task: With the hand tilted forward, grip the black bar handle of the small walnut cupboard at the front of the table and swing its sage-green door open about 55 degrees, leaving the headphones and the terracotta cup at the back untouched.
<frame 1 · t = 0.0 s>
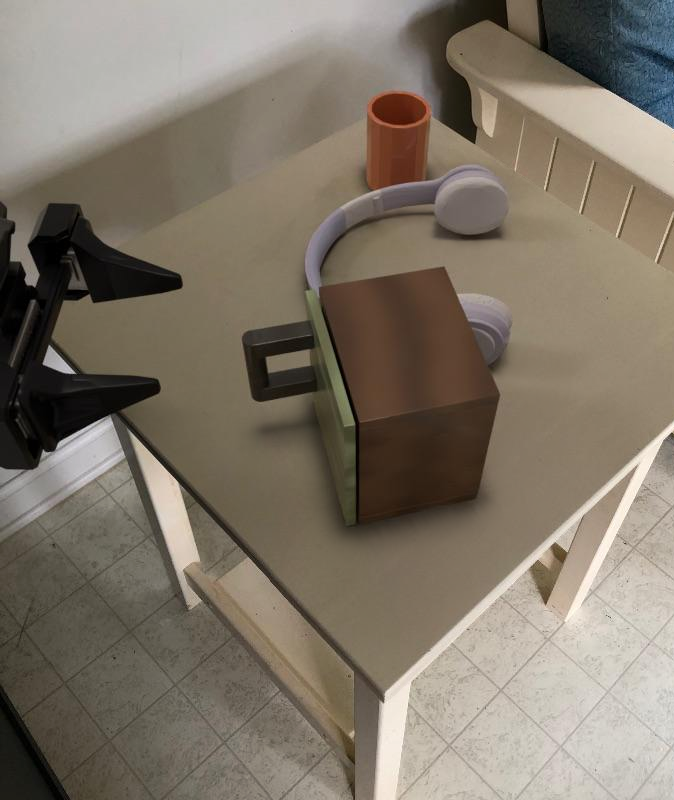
hand: (171, 330, 54), 18 cm above the table, tool horizontal, fingers open, 9 cm apart
door: (297, 417, 64), point 7 cm above the table, hinge at 0.0°
cup: (395, 179, 92), on the table
headphones: (406, 282, 83), on the table
cupboard: (397, 446, 71), on the table
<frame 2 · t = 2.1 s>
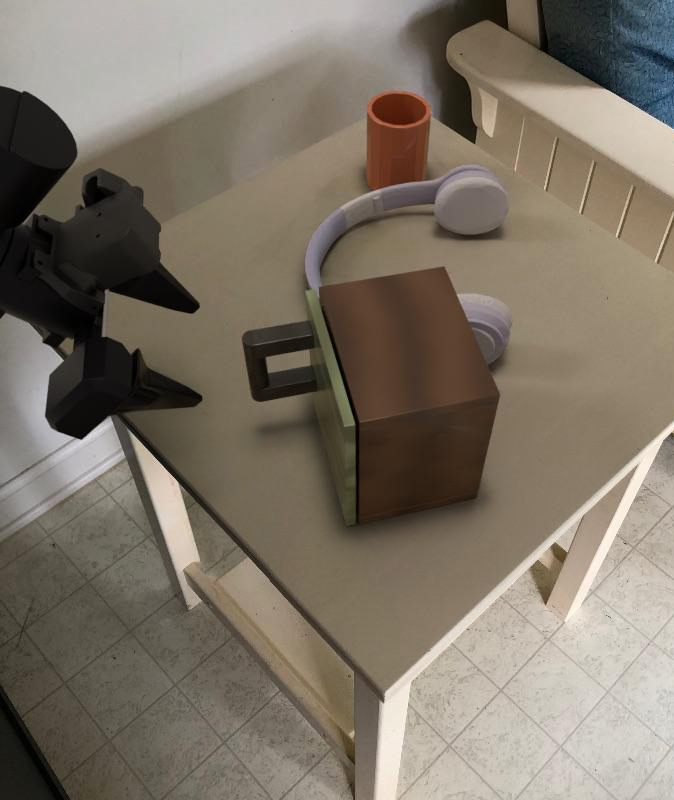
hand: (197, 353, 62), 11 cm above the table, tool tilted 45°, fingers open, 9 cm apart
nothing on the table moved.
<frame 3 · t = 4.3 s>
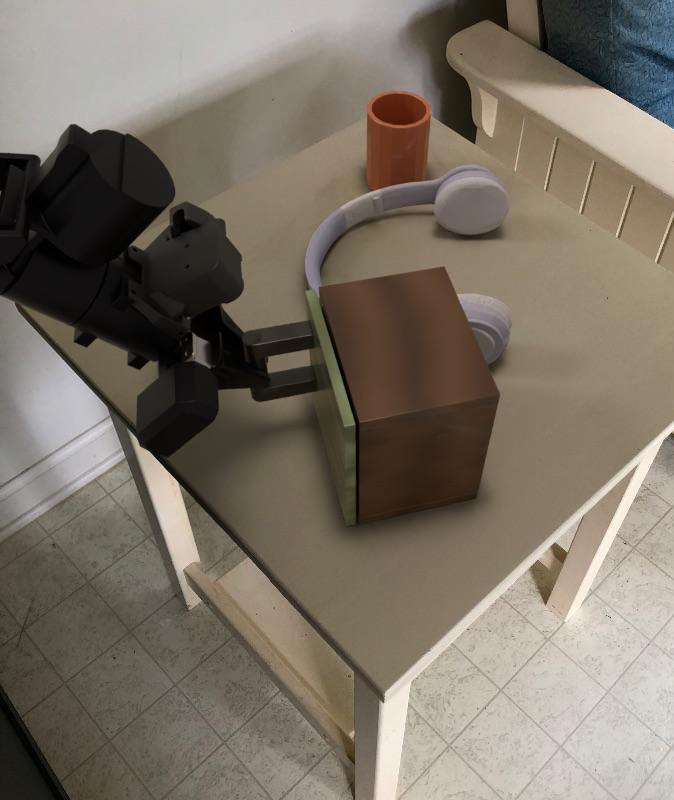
hand: (265, 373, 65), 8 cm above the table, tool tilted 45°, fingers closed on door, 2 cm apart
door: (297, 417, 64), point 7 cm above the table, hinge at 0.0°, touching gripper
everything else where it was.
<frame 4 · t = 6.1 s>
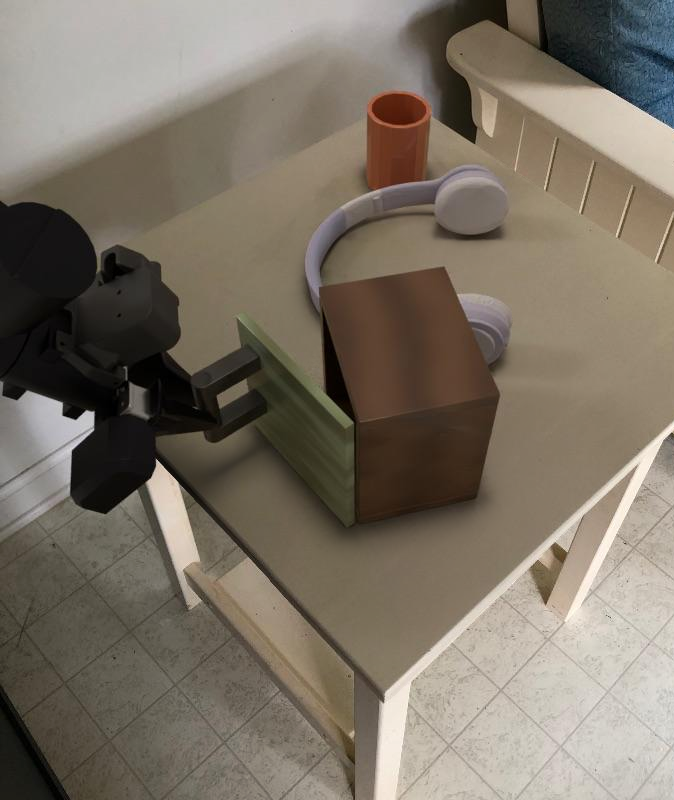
hand: (213, 414, 63), 8 cm above the table, tool tilted 45°, fingers closed, pressing on door
door: (269, 441, 62), point 7 cm above the table, hinge at 25.1°, touching gripper
everything else where it was.
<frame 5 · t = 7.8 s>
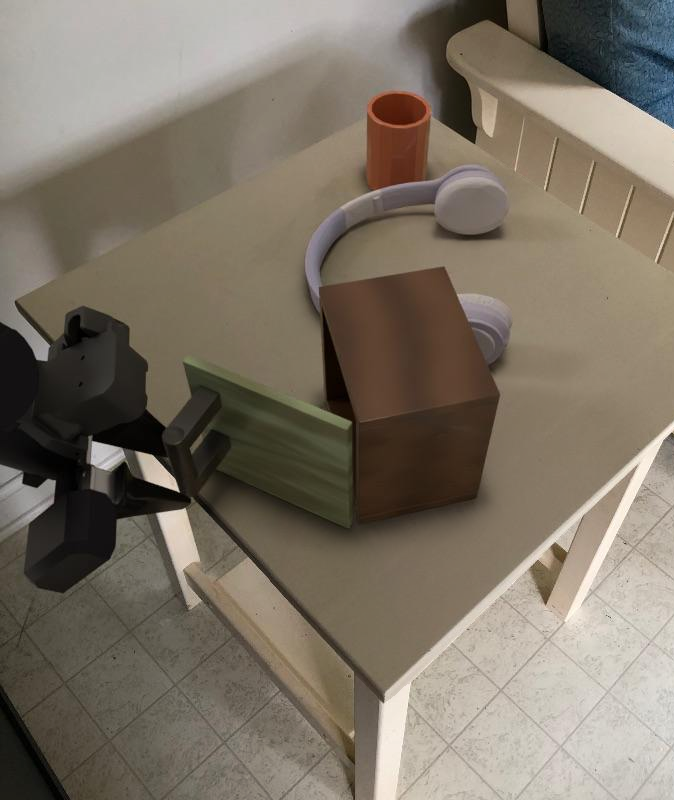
hand: (187, 478, 59), 8 cm above the table, tool tilted 45°, fingers open, 4 cm apart
door: (254, 473, 60), point 7 cm above the table, hinge at 49.2°
everything else where it was.
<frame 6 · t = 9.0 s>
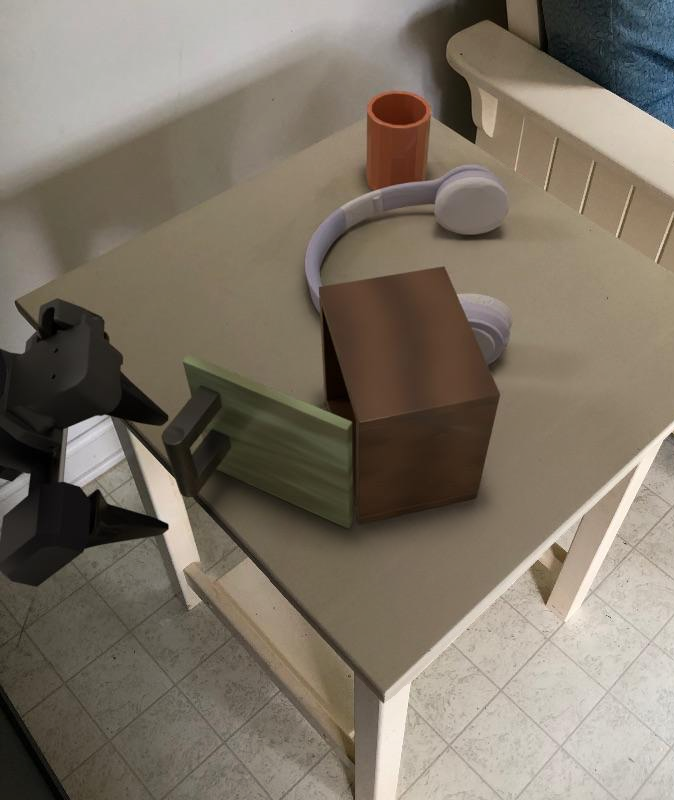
hand: (165, 473, 59), 8 cm above the table, tool tilted 45°, fingers open, 9 cm apart
nothing on the table moved.
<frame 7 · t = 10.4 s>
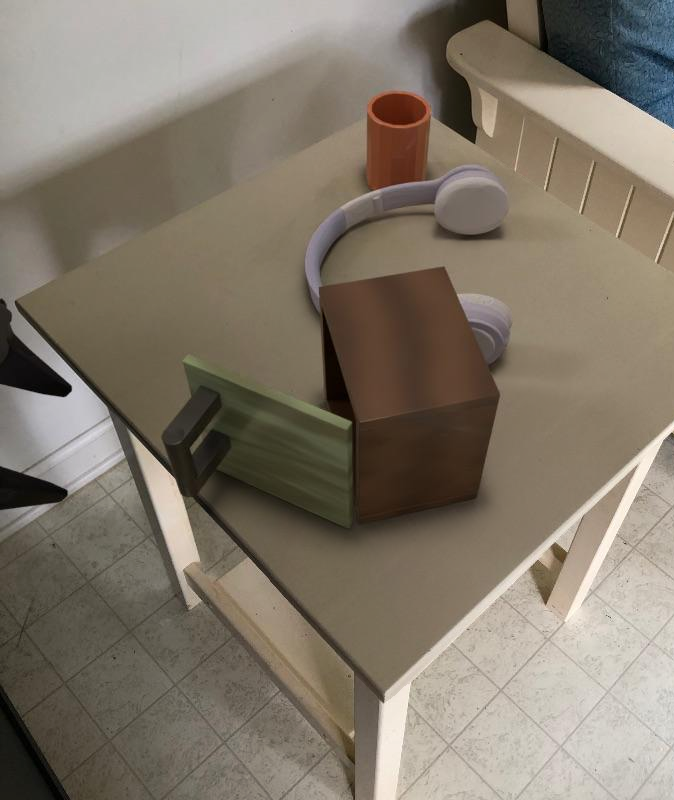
hand: (67, 441, 58), 10 cm above the table, tool tilted 45°, fingers open, 9 cm apart
nothing on the table moved.
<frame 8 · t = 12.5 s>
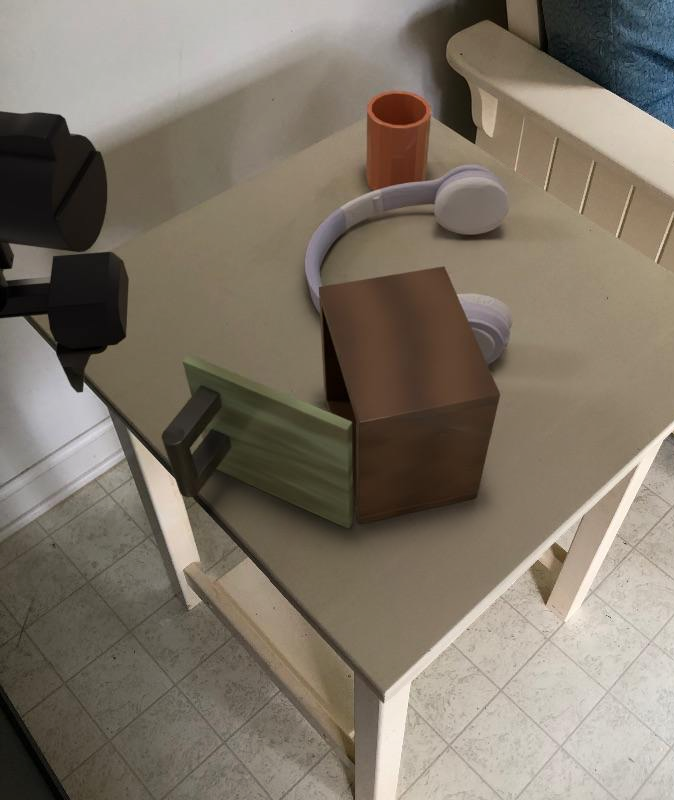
hand: (11, 394, 56), 13 cm above the table, tool pointing down, fingers open, 9 cm apart
nothing on the table moved.
at the end: door at +49° (first picture: +0°); cup tilted 0° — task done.
